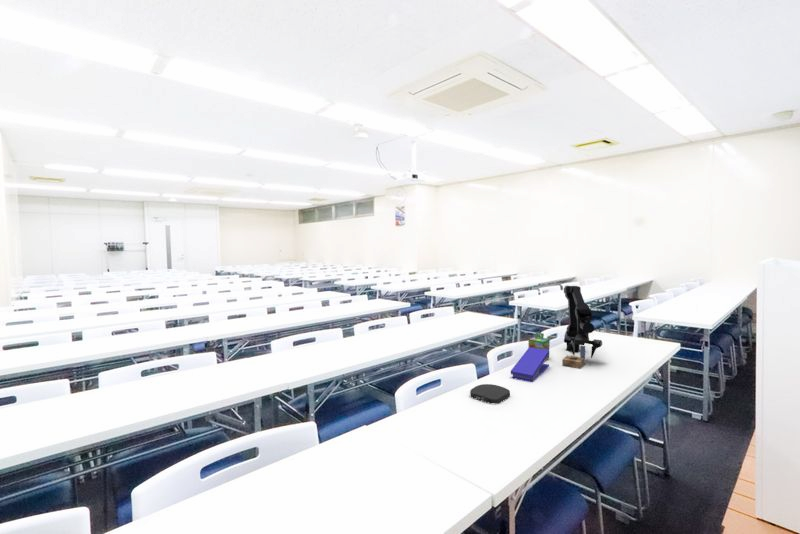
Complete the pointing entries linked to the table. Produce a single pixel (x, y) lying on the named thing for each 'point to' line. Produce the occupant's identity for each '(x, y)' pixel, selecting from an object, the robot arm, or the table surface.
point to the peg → (582, 351)
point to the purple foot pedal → (531, 364)
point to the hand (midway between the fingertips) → (582, 356)
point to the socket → (573, 361)
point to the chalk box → (539, 342)
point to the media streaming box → (490, 393)
